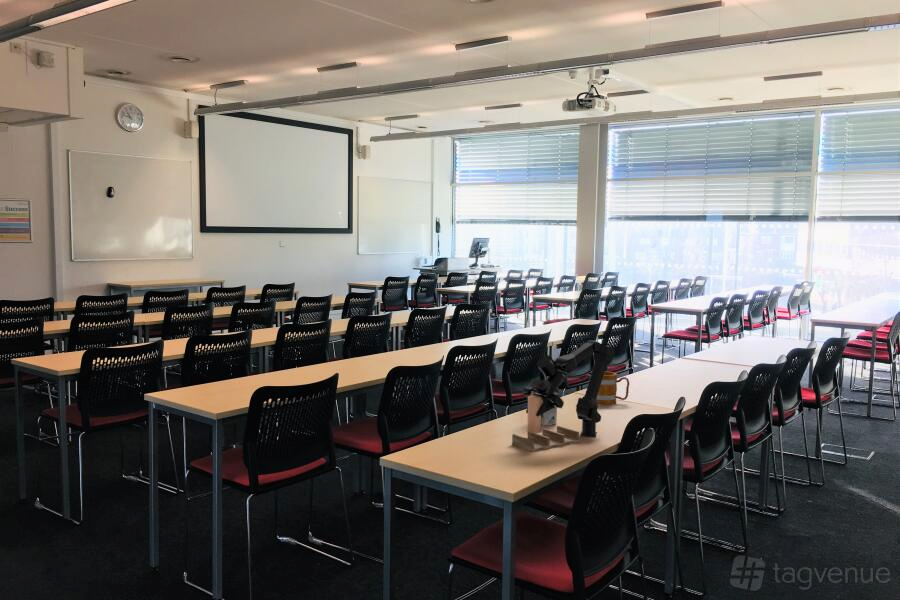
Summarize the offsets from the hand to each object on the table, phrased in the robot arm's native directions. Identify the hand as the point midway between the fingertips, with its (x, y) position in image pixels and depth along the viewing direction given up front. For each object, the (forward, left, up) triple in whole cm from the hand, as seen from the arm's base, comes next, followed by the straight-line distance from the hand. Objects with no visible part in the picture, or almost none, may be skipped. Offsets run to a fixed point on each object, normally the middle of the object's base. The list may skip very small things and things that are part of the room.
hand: (531, 414), depth 290 cm
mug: (-93, +27, -14) cm, 98 cm away
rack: (-8, +5, -13) cm, 16 cm away
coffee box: (-42, +1, -14) cm, 44 cm away
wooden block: (-1, +1, -7) cm, 7 cm away
